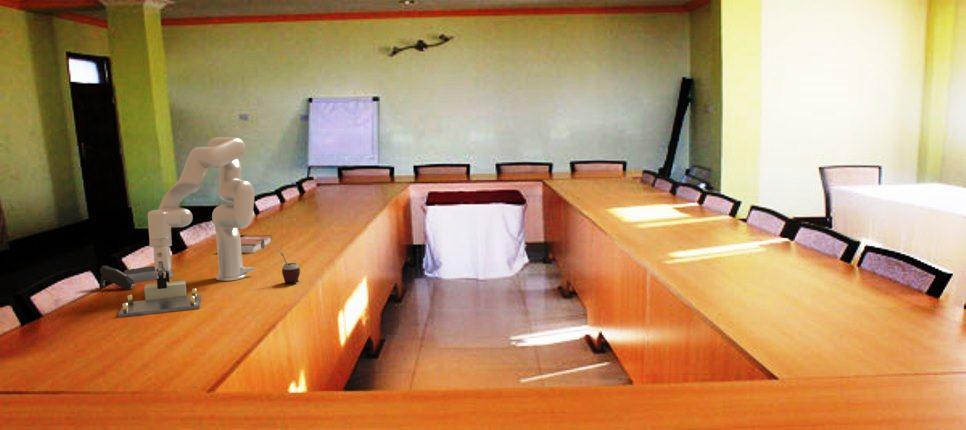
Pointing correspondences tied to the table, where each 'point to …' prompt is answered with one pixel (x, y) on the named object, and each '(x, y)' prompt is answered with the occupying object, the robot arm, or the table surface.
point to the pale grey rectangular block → (165, 290)
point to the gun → (115, 278)
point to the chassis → (160, 305)
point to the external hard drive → (144, 274)
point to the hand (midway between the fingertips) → (163, 285)
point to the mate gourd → (290, 272)
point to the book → (253, 243)
